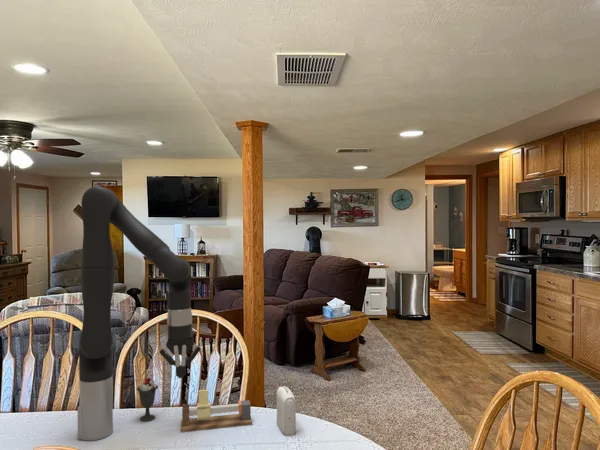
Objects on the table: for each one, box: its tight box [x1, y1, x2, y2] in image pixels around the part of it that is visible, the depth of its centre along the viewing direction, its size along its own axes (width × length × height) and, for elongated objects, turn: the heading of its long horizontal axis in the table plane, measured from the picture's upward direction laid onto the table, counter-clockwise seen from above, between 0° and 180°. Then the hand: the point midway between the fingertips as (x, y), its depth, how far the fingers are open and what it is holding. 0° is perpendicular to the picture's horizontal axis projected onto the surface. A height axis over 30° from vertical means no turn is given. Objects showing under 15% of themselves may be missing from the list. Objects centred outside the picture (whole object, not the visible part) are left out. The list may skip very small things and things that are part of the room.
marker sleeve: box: [196, 389, 211, 420], centre depth 141 cm, size 4×4×8 cm
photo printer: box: [276, 385, 297, 436], centre depth 138 cm, size 10×4×12 cm, turn 17°
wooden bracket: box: [180, 403, 253, 433], centre depth 142 cm, size 22×7×6 cm, turn 103°
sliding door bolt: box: [189, 399, 252, 420], centre depth 142 cm, size 21×4×5 cm, turn 103°
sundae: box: [136, 374, 159, 422], centre depth 147 cm, size 7×7×15 cm
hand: (180, 377), depth 140 cm, fingers closed
